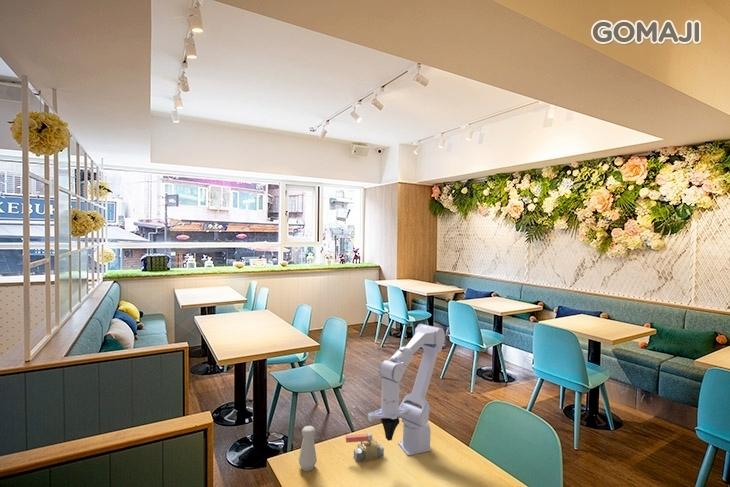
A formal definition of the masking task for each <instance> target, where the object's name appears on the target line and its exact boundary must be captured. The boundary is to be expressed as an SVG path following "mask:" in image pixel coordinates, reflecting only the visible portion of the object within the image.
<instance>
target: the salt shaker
mask: <svg viewBox="0 0 730 487" xmlns="http://www.w3.org/2000/svg"><path fill="white" fill-rule="evenodd" d="M315 435H316V428H315V427H314V426H312V425H306V426H304V427H303V428H302V429H301V436H302V437H303V438H302V443H301V447H300V451H299V456H298V464H299V466H300V468H301V470H302V471H304V472H310V471H312V470H314V468H315V466H316V464H317V453H316V445H315V438H314V437H315Z"/></svg>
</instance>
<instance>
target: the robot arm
mask: <svg viewBox="0 0 730 487" xmlns="http://www.w3.org/2000/svg"><path fill="white" fill-rule="evenodd" d="M445 339H446V334H445V331H444V328H442V327H437V326H432V325H427V324H424V323H419V324H417V326H416V327H415V329H414V335H413V336H412V337H411V339H410V340H409V342H408V343H406V346H401V347H399V349H397V351H395V352H394V354H392V356H391V357H390V358H389V359H385V360H384V361H382V362H381V363H380V364H379V369H378V371H377V372H378V376H379V378H380V383H381V394H380V395H381V396H380V398H381V400H380V401H381V403H380V408H378V409H377V410H375V411H371V412H368V413H367V419H368V421H369V422H370V423H372V422H374V421H376V420H380V421H381V424H382V426H383V430H384V434H385V439H386V440H387V441H393V437H394V434H395V431H396V428H397V427H398V425H399V424H400V419H401V422H402V424H403V426H402V441H398V442H397V444H398V446H400V448H401V449H402V450H403V451H404V453H405V454H406V455H407V456H413V455H417V454H421V453H427V452H430V451H432V448H431V426H430V424H429V423H428V422H429V418H430V409H431V406H430V404H429V402H428V400H427V399H426V396H427V394H428V393H427V392H428V389H429V385H430V381H431V378H432V376H433V371H434V368H435V365H436V361H437V357H438V355H439V354H438V353H441V352H442V350H443V346H444V342H445ZM420 348H421V349H423V353H422V357H421V360H420V364H419V367H418V371H417V373H416V378H415V381H414V384H413V388H412V390H411V393H409V394H407V395H405V396H404V397H403V400H402V402H400V381H401V380H402V379H403V376H404V373H405V371H406V368H407V367H408V366H409V365H410V363H411V362H412V361H413V360H414V354H415V353H416V352H417V351H418V350H420ZM399 402H400V403H399ZM399 404H400V405H399ZM399 418H400V419H399Z"/></svg>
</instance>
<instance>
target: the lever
mask: <svg viewBox="0 0 730 487" xmlns="http://www.w3.org/2000/svg"><path fill="white" fill-rule="evenodd" d="M372 438H373V434H372V433H371V432H369V433H360V434H345V443H358V442H360V443H361V441H372Z"/></svg>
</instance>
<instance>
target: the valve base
mask: <svg viewBox="0 0 730 487" xmlns="http://www.w3.org/2000/svg"><path fill="white" fill-rule="evenodd" d="M384 453H385V448H384V447H383V445H382V444H381V443H378V442H377V440H375V439H374V437H372V441H361V442H360V443H359V444H357V448H353V459H354V460H355V462H356V463H359V462H361V463H365V462H371V461H375V460H378V459H380V458H381V457H382V458H383V457H384Z"/></svg>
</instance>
